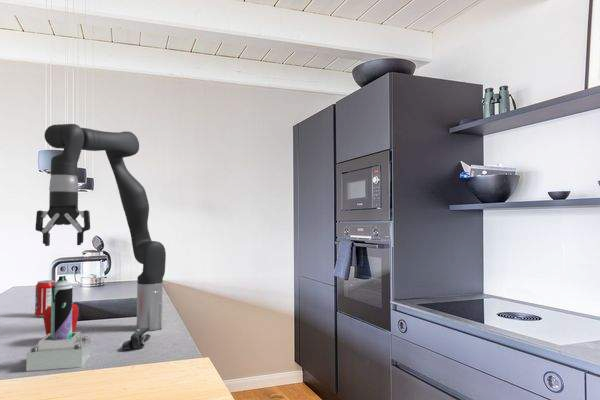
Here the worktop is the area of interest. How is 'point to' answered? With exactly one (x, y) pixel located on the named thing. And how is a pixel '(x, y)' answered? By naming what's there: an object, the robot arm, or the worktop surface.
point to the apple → (48, 318)
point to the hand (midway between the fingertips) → (63, 245)
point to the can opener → (137, 339)
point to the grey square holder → (59, 353)
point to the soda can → (43, 296)
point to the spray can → (61, 309)
